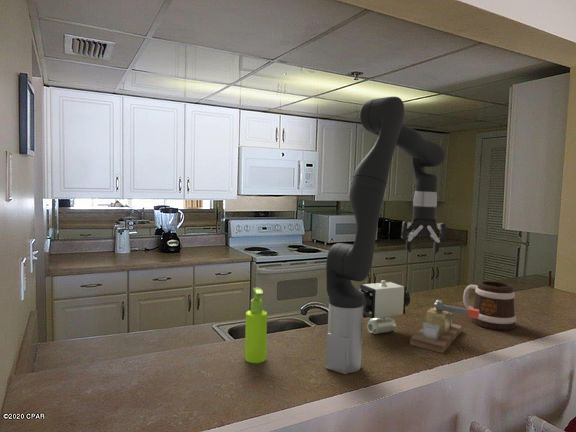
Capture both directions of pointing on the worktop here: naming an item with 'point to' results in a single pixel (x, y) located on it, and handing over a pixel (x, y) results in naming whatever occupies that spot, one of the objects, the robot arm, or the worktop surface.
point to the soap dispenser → (256, 330)
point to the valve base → (442, 340)
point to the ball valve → (383, 304)
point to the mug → (492, 305)
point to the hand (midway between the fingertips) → (422, 252)
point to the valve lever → (456, 309)
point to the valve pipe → (436, 324)
